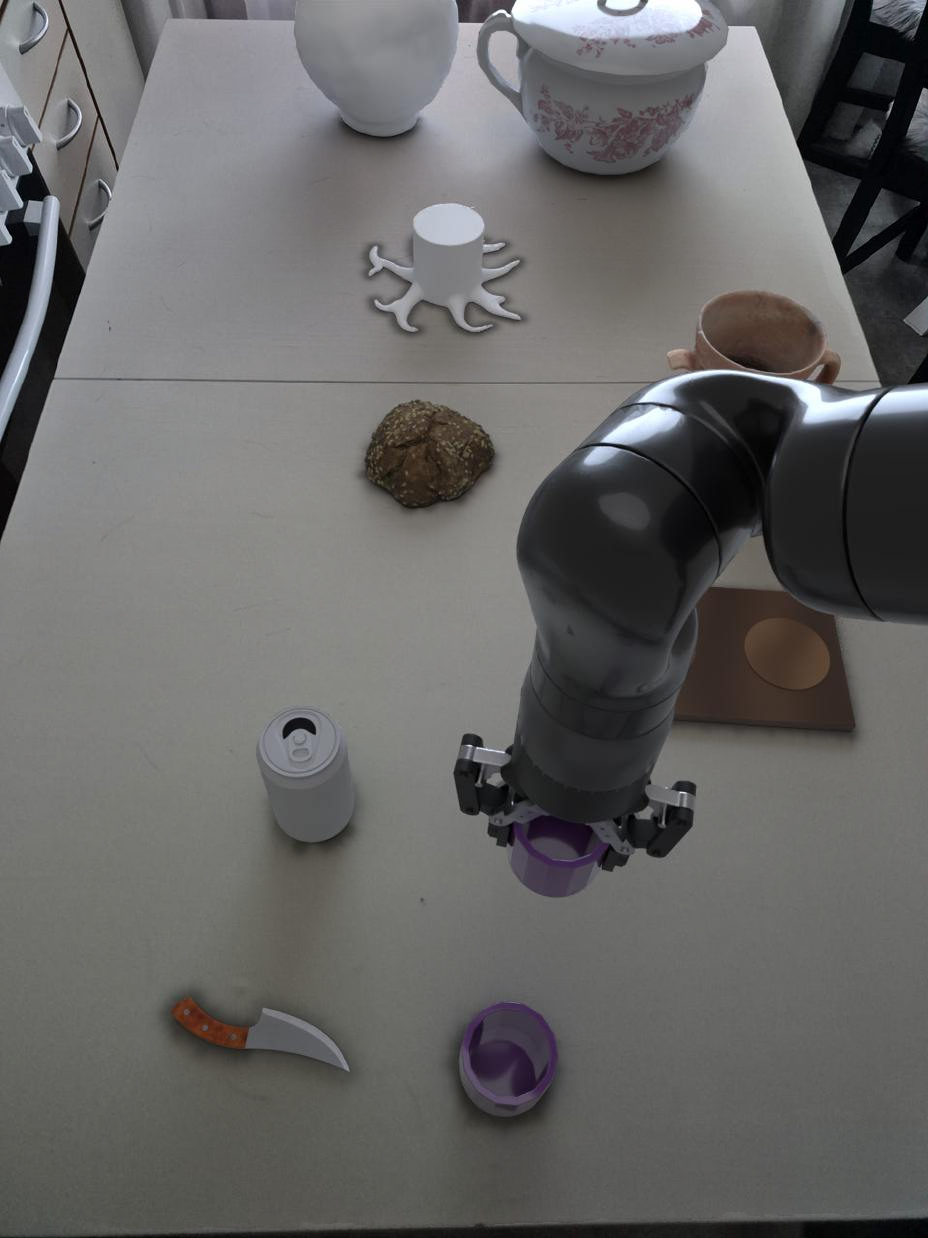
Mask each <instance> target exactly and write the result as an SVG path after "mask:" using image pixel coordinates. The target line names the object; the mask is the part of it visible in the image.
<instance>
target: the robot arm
mask: <svg viewBox="0 0 928 1238" xmlns="http://www.w3.org/2000/svg"><path fill="white" fill-rule="evenodd" d="M760 536H761V537H762V540H763V546H764V550H765V551H764V552H765V554H766V557H767V560H768V563H769V566H770V567H771V571H772V573H773V574H774V576H775V578H776V580H777V581H778V583H779V584H780V586H781V587H782V588H783V590H784V591H785V592H787V593H788V594H789V595H791V596H792V597H793V598H794V599H796V600H797V601H798V602H800V603H801V604H803V605H805V606H807V607H809V608H811V609H814V610H816V611H819V612H822V613H826V614H830V615H834V617H840V618H846V619H852V620H861V621H871V622H881V623H892V624H898V625H911V626H921V627H922V626H923V627H928V382H919V383H909V384H908V383H907V384H901V385H900V384H895V385H894V384H893V385H889V386H888V385H887V386H881V387H874V388H869V389H862V390H856V389H851V388H845V387H840V386H837V385H833V384H832V385H829V384H824V383H820V382H815V381H814V380H811V379H807V380H804V379H796V378H787V377H780V376H773V375H767V374H760V373H754V372H747V371H740V370H730V369H706V370H697V371H691V372H686V373H683V372H682V373H678V374H674V375H671V376H668V377H665V378H661V379H659V380H657V381H655V382H652V383H649V384H648V385H646V386H644V387H642V388H640V389H639V390H637V391H636V392H634V393H633V394H631V395H630V396H629V397H628V398H626V399H625V400H624V401H622V402H621V404H619V405H618V406H617V407H616V408H615V409H614V410H613V411H612V412H611V413H610V414H609V415H608V416H607V417H606V418H605V419H604V420H603V421H602V422H601V423H600V424H599V425H598V426H597V427H596V428H595V429H594V430H593V431H592V432H591V433H590V434H589V435H588V436H587V437H585V439H584V440H583V441H582V442H581V443H580V444H579V445H578V446H577V447H576V448H575V449H574V450H573V451H571V453H569V454H568V455H567V456H566V457H565V458H564V459H563V460H562V461H561V462H560V463H559V464H558V465H557V466H556V467H555V468H554V469H553V470H552V471H550V473H548V475H547V476H546V477H545V478H544V479H543V480H542V481H541V482H540V484H539V485H538V487H537V488H536V489H535V491H534V493H533V495H532V497H531V498H530V500H529V502H528V504H527V506H526V508H525V510H524V514H523V516H522V519H521V522H520V524H519V529H518V533H517V537H516V538H517V539H516V546H515V549H516V551H515V552H516V562H517V567H518V571H519V573H520V576H521V580H522V583H523V586H524V589H525V592H526V596H527V599H528V603H529V606H530V610H531V614H532V617H533V619H534V623H535V625H536V629H535V636H534V641H533V648H532V654H531V661H530V663H529V666H528V668H527V670H526V673H525V676H524V678H523V682H522V685H521V688H520V694H519V696H520V699H519V705H518V712H517V718H516V724H515V731H514V737H513V743H512V744H510V745H508V746H507V748H505V750H504V751H501V750H495V749H491V748H490V747H488V746H487V747H485V746H484V740H483V738H482V737H481V736H479V735H478V734H475V733H472V732H471V733H470V732H469V733H464V734H463V735H462V738H461V742H460V745H459V749H458V754H457V757H456V761H455V764H454V769H453V772H452V773H453V779H454V780H453V781H454V785H455V790H456V795H457V800H458V805H459V810H460V812H461V813H463V814H465V815H468V816H473V817H474V816H478V815H480V812H481V813H483V814H485V815H486V816H487V817H488V819H487V821H488V824H487V832H486V833H487V835H488V836H489V837H490V838H493V839H496V842H495V846H497V847H501V848H507V843H508V837H509V831H510V825H511V823H512V822H514V821H516V822H518V823H520V824H525V823H527V822H529V821H531V820H533V819H535V818H537V817H539V816H541V815H545V816H549V815H552V816H554V817H557V818H559V819H562V820H565V821H569V822H574V823H585V825H590V826H591V828H592V829H593V830H594V832H595V833H596V834H597V836H598V837H599V838H600V840H601V841H602V842H603V843H610V845H609V848H608V850H607V853H606V855H605V858H604V860H603V863H602V865H601V871H605V872H609V873H613V872H614V870H615V867H619V868H623V867H625V866H626V865H627V864H628V861H629V859H630V857H631V856H632V855H635V854H636V850H637V849H639V850H640V849H641V850H642V849H643V850H645V853H646V855H648V856H649V857H652V858H656V859H663V858H666V857H667V856H668V854H670V852H671V851H672V850H673V849H674V848H675V847H676V846H677V845H678V843H679V842H680V841H681V840H682V839H683V838H684V837H685V836H686V834H687V833H688V832H690V830H691V829H692V828H693V825H694V816H695V809H696V800H697V799H696V796H697V784H695V782H692V781H689V780H686V779H685V780H677V781H676V782H675V783H674V784H673V785H672V786H671V788H670V787H669V786H664V787H663V786H660V785H656V784H652V779H651V776H652V774H653V771H654V769H655V767H656V764H657V761H658V759H659V757H660V754H661V752H662V750H663V748H664V746H665V743H666V740H667V738H668V736H669V734H670V732H671V731H670V730H671V728H672V724H673V721H674V720H673V717H674V711H675V704H676V701H677V698H678V696H679V694H680V691H681V689H682V686H683V684H684V682H685V679H686V677H687V674H688V672H689V669H690V666H691V663H692V660H693V657H694V654H695V650H696V646H697V638H698V627H699V625H698V617H697V610H696V607H695V606H696V604H697V603H698V602H699V600H700V599H701V598H702V597H703V595H704V594H705V593H706V592H707V591H708V589H709V588H710V587H713V584H714V583H715V582H716V581H717V579H718V578H719V577H721V575H722V573H724V571H725V569H726V568H727V567H728V566H729V565H730V564H731V562H732V561H733V560H734V559H735V557H736V556H737V555H738V554H739V552H740V551H742V549H743V547H744V546H745V545H746V543H747V542H749V540H750V539H753V538H757V537H760ZM494 774H500V777H501V780H500V781H499V782H496V784H495V785H494V784H492V783H490V782H488V780H489V779H491V778H492V775H494ZM647 807H649V808H651V809H652V810H653V811H652V812H651V814H650V818H640V817H641V814H639V813H641V812H643V811H645V810H646V808H647Z"/></svg>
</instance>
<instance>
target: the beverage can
mask: <svg viewBox="0 0 928 1238" xmlns="http://www.w3.org/2000/svg"><path fill="white" fill-rule="evenodd" d="M347 744H348V743H347V738H346V734H345V732H344V730H343V728H342V726H341V725H340V723H338V722H337V720H336V719H335V718H333V717H332V716H331V715H330V714H329V713H328V712H327V711H325V710H324V709H323V708H322V709H321V708H319V707H317V706H314V705H309V704H298V705H297V704H296V705H291V706H287V707H286V708H283V709H282V710H279V711H278V712H275V714H273V715H271V717H270V718H269V719H268V720H267V721H266V723H265V724H264V725H263V727H262V729H261V732H260V735H259V737H258V739H257V744H256V747H255V748H256V750H255V756H256V761H257V764H258V767H259V771H260V774H261V777H262V780H263V783H264V787H265V790H266V793H267V796H268V799H269V802H270V805H271V808H272V811H273V815H274V816H275V817H274V819H275V821H276V823H277V825H278V827H280V829H281V830H282V831H283V832H284V833H285V834H286V835H287V836H289V837H291V838H292V839H295V840H297V841H300V842H304V843H320V842H323V841H327V840H329V839H332V838H333V837H335V836H336V835H338V834H339V833H340V832H342V831H343V830H344V829H345V828H346V827H347V825H348V824H349V822H350V820H351V819H352V816H353V814H354V810H355V803H356V802H355V792H354V786H353V785H354V784H353V780H352V779H353V778H352V772H351V765H350V758H349V750H348V745H347Z"/></svg>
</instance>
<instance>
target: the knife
mask: <svg viewBox="0 0 928 1238" xmlns="http://www.w3.org/2000/svg"><path fill="white" fill-rule="evenodd" d="M170 1012H171V1014H172V1016H173V1017H174V1018H175V1020H176V1021H177V1022H179V1024H180V1025H181V1026H182V1027H184V1028H185V1029H186V1030H188V1031H189V1032H190V1033H192V1034H193V1035H195V1036H196V1037H198V1038H200V1039H202V1040H204V1041H206V1042H209V1043H211V1044H214V1045H217V1046H220V1047H224V1048H229V1049H235V1050H236V1049H237V1050H269V1051H278V1052H283V1053H284V1052H285V1053H290V1054H296V1055H300V1056H304V1057H307V1058H311V1059H314V1060H318V1061H320V1062H323V1063H326V1064H328V1065H331V1066H334V1067H337V1068H339V1069H342V1070H344V1071H346V1072H349V1073H350V1072H351V1071H350V1068H349V1065H348V1063H347V1061H346V1059H345V1057H344V1055H343V1053H342V1051H341V1050H340V1049H339V1047H338V1045H336V1043H335V1042H334V1041H333V1040H332V1039H331V1038H330V1037H329V1036H328V1035H327V1034H325V1033H324V1032H322V1031H321V1030H320V1029H319V1028H317V1027H316V1026H314V1025H312V1024H311V1023H308V1022H307V1021H304V1020H303V1019H300V1018H298V1017H296V1016H294V1015H291V1014H288V1013H285V1012H281V1011H279V1010H276V1009H271V1008H266V1007H262V1010H261V1015H260V1017H259V1020H258V1022H257V1023H255V1024H254V1025H253V1026H250V1027H249V1026H248V1027H244V1026H243V1027H242V1026H236V1025H235V1026H234V1025H230V1024H226V1023H223V1022H220V1021H218V1020H217V1019H215V1018H212V1017H211V1016H210V1015H208V1014H207V1013H206V1012H204V1011H203V1010H202V1009H201V1008H200V1007H199V1006H198V1005H197V1003H196V1002H195V1001H194V999H193V998H192V997H186V998H184V999H181V1000H179V1001H178V1002H176V1004H175V1005H173V1007H172V1008H171V1009H170Z"/></svg>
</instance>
